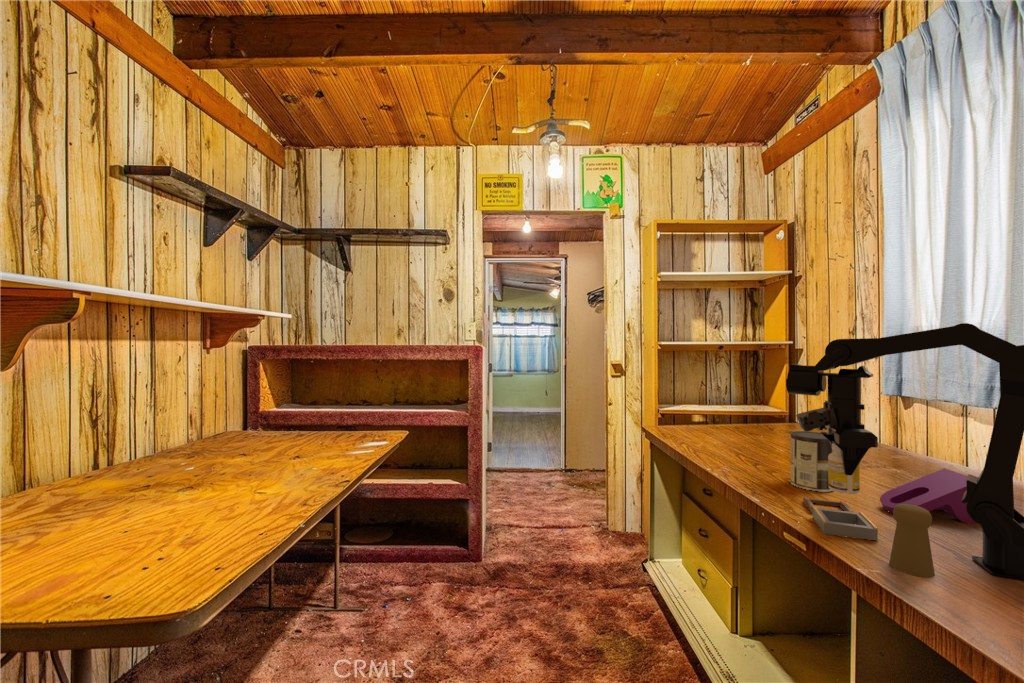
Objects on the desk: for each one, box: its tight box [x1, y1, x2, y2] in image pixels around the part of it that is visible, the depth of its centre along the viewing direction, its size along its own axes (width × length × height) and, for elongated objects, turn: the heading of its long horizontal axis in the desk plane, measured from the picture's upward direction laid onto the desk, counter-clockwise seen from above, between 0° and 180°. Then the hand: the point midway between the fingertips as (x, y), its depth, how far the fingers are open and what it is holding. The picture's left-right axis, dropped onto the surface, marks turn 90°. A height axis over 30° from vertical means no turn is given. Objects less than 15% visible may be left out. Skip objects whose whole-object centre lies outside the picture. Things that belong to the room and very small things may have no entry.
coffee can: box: [790, 430, 834, 493], centre depth 123 cm, size 10×10×14 cm
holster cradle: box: [802, 496, 855, 514], centre depth 106 cm, size 8×8×2 cm
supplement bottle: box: [828, 443, 861, 495], centre depth 95 cm, size 5×5×10 cm
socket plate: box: [812, 505, 879, 542], centre depth 95 cm, size 9×9×3 cm
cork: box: [888, 504, 936, 578], centre depth 79 cm, size 6×6×11 cm
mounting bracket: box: [879, 467, 977, 524], centre depth 104 cm, size 9×8×18 cm
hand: (844, 471), depth 95 cm, fingers closed on supplement bottle, 5 cm apart
